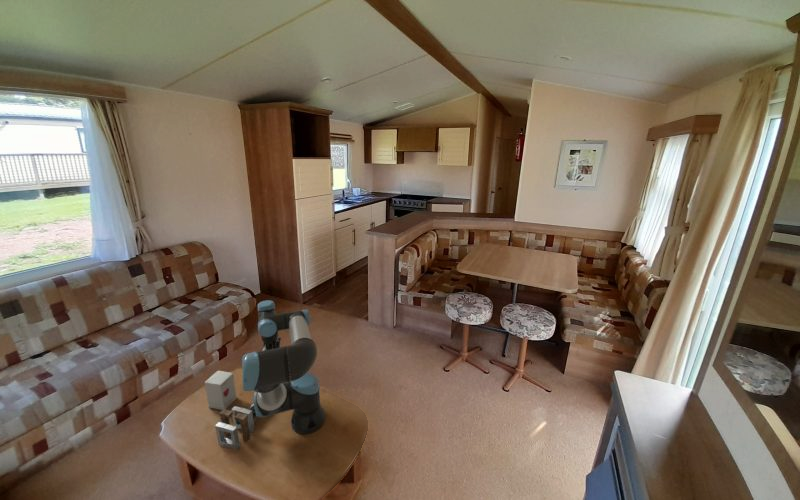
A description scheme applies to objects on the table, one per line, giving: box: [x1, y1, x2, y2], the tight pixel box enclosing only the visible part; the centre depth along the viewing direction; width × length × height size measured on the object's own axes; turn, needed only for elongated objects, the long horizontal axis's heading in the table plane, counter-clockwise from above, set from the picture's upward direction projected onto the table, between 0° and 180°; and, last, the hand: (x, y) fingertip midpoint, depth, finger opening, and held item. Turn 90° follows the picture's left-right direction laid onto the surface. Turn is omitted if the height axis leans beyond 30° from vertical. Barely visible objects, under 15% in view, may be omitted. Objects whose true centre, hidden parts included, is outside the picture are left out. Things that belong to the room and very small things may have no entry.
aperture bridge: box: [219, 408, 251, 443], centre depth 137 cm, size 12×2×12 cm, turn 75°
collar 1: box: [214, 421, 241, 451], centre depth 133 cm, size 9×2×10 cm, turn 75°
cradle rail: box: [253, 413, 260, 424], centre depth 152 cm, size 4×15×3 cm, turn 165°
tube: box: [247, 401, 255, 415], centre depth 149 cm, size 16×4×4 cm, turn 165°
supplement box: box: [204, 370, 237, 411], centre depth 155 cm, size 9×9×15 cm
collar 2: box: [230, 405, 256, 434], centre depth 141 cm, size 9×2×10 cm, turn 75°
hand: (274, 372), depth 160 cm, fingers closed
